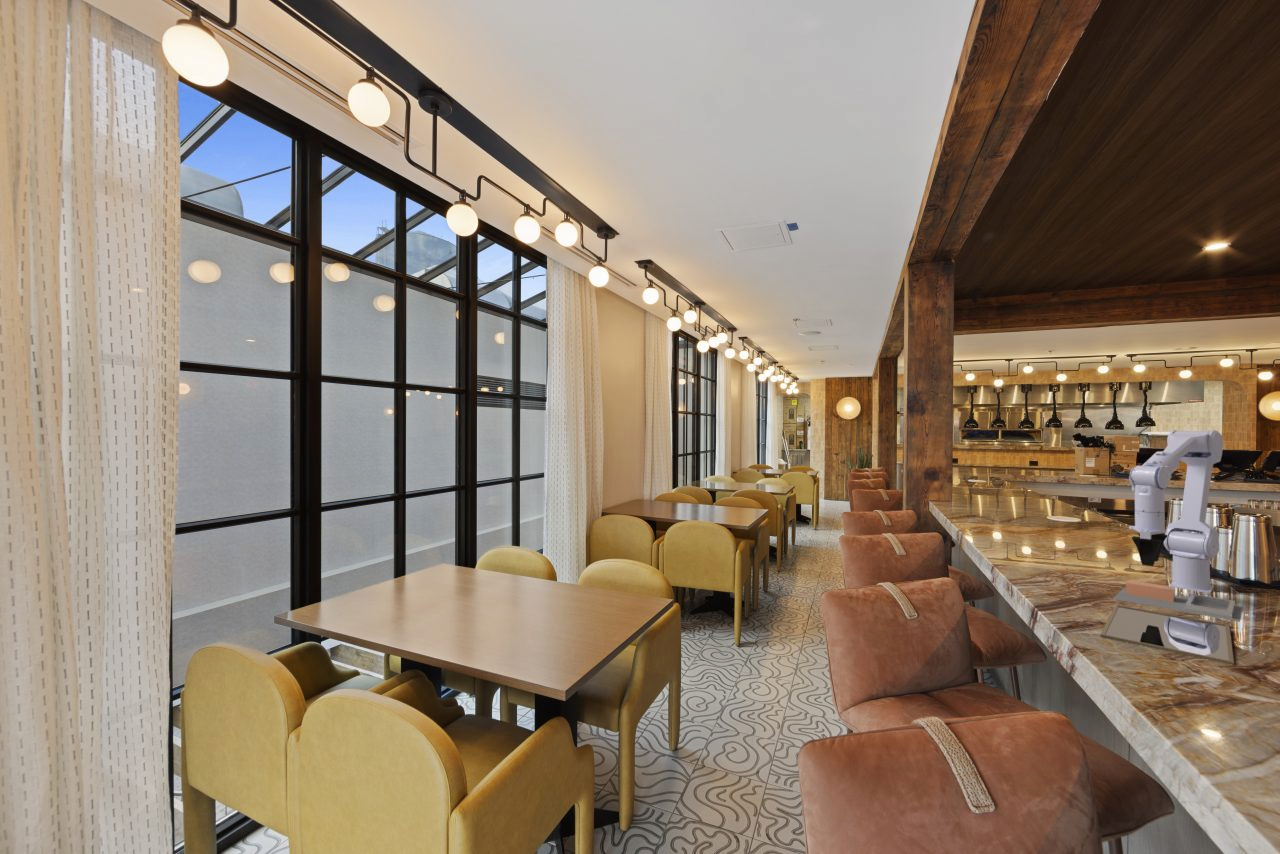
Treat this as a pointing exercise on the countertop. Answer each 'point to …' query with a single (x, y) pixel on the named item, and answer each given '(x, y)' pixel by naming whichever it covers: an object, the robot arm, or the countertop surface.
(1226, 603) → the tray frame
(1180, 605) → the mat
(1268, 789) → the countertop surface
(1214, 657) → the framed mirror
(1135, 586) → the tall peach block
